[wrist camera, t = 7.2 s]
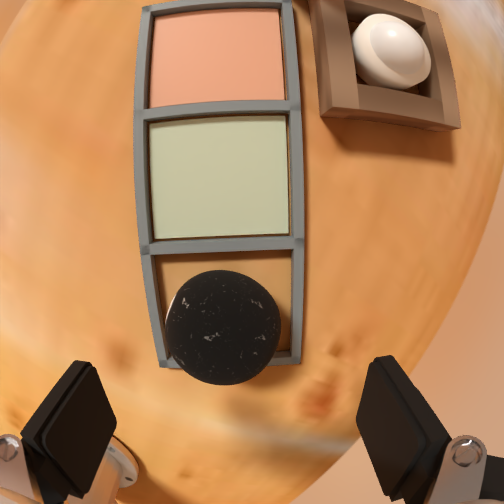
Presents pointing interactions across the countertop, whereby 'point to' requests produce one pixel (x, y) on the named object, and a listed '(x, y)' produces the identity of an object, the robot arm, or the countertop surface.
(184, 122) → the three-section frame tray
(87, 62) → the countertop surface
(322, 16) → the dome housing
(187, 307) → the billiard ball
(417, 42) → the dome button
